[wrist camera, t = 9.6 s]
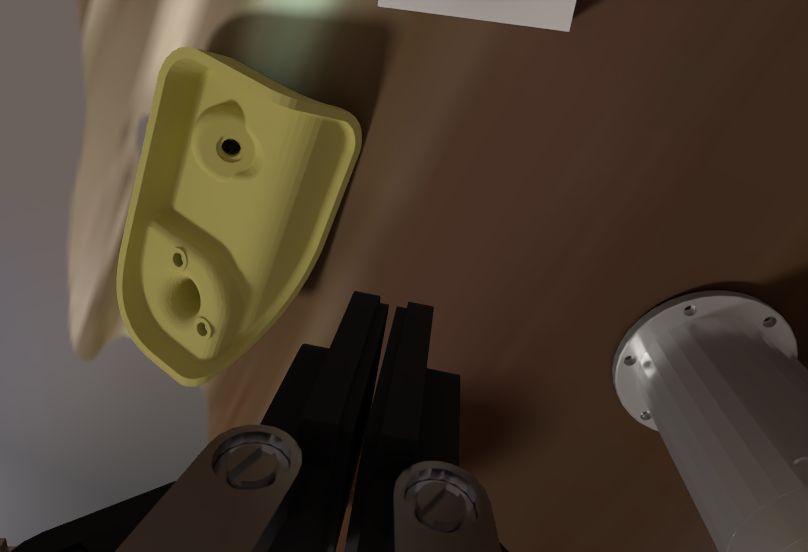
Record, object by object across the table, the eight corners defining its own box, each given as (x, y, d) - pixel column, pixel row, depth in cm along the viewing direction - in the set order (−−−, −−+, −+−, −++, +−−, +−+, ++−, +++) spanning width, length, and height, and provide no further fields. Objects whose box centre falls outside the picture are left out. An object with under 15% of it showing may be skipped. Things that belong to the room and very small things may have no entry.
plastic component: (167, 33, 31) (299, 104, 27) (258, 57, 37) (373, 117, 34) (104, 320, 38) (201, 403, 35) (189, 298, 45) (277, 365, 42)
